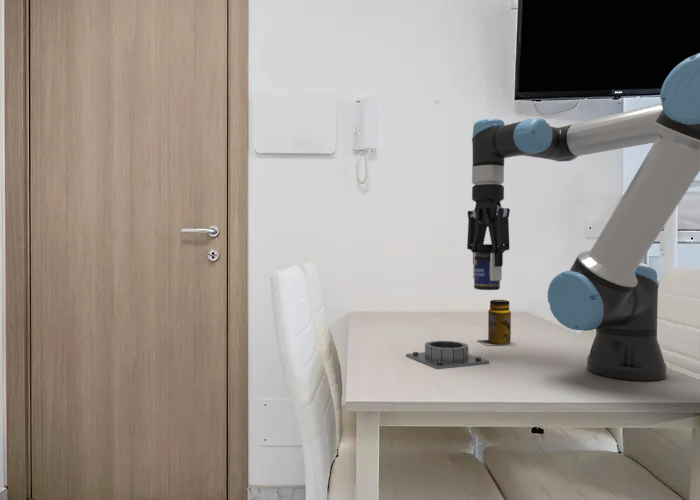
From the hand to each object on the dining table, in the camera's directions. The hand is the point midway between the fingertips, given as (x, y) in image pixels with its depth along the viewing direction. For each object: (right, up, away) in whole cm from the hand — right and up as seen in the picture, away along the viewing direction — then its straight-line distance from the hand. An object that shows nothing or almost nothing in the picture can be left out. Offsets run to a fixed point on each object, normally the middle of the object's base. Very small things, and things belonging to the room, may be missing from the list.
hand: (487, 279), depth 127 cm
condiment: (+7, -19, +18) cm, 27 cm away
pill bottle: (0, -3, 0) cm, 3 cm away
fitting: (-11, -19, -3) cm, 22 cm away
